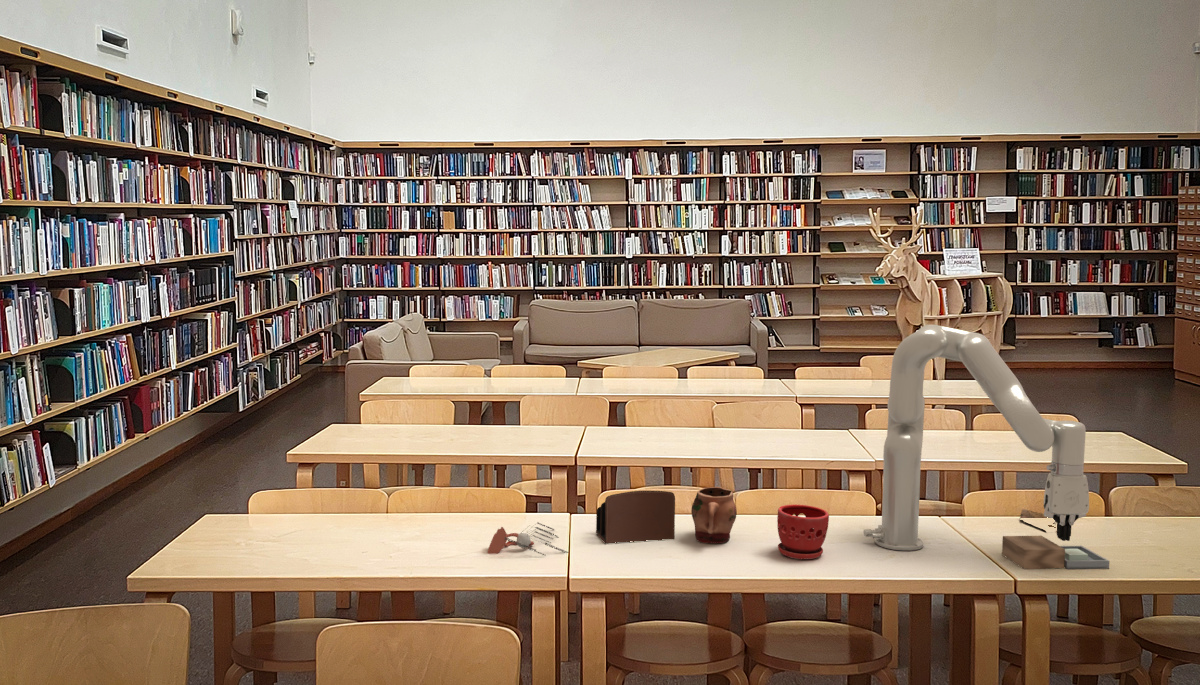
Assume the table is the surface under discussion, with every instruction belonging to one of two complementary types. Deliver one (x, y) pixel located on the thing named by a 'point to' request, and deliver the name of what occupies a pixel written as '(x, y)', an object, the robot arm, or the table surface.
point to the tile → (1075, 555)
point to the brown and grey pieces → (522, 541)
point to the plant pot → (802, 531)
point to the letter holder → (636, 516)
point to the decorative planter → (713, 514)
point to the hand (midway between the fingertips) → (1063, 539)
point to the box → (1092, 562)
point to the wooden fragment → (1033, 515)
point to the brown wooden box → (1033, 552)
